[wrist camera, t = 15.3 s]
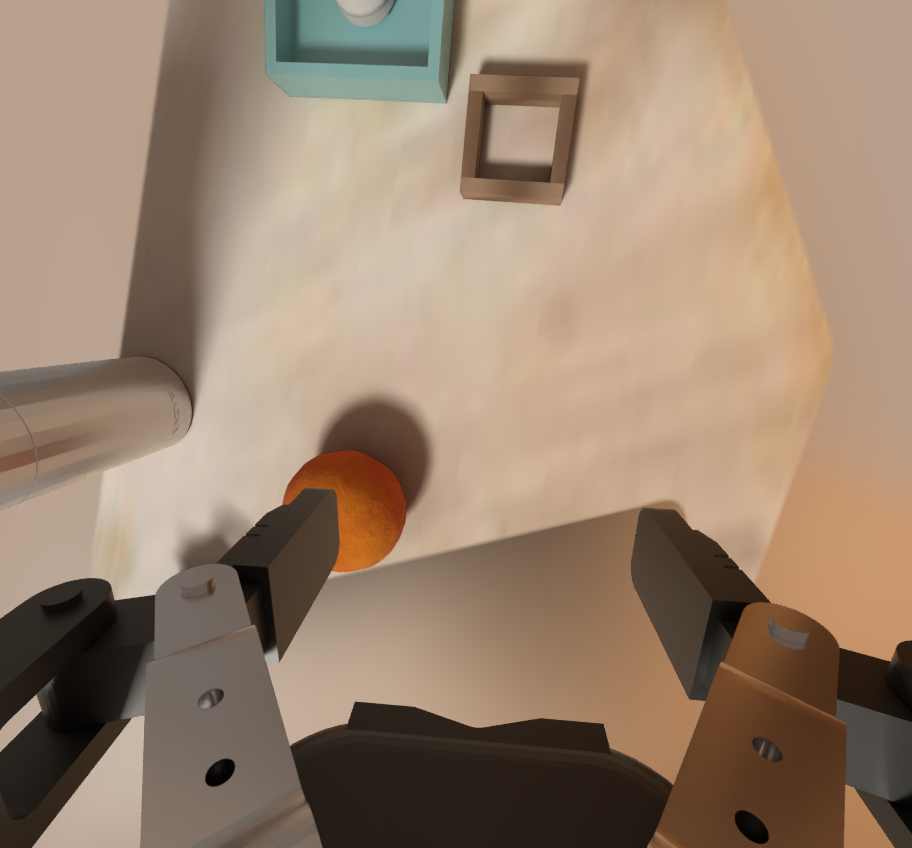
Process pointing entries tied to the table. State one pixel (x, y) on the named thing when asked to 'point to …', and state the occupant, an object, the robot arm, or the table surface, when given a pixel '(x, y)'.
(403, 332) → the table surface
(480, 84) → the socket collar
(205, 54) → the table surface
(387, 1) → the rook chess piece
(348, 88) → the tray
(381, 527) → the fruit
